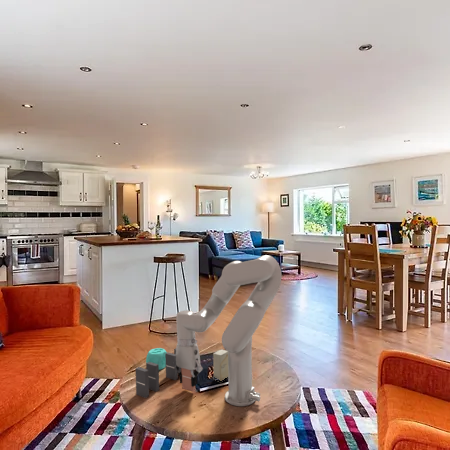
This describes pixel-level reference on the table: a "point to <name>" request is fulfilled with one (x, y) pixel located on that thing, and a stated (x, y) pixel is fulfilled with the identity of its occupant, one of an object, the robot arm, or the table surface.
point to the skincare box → (220, 364)
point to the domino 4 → (187, 380)
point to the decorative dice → (157, 357)
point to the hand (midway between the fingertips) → (188, 383)
